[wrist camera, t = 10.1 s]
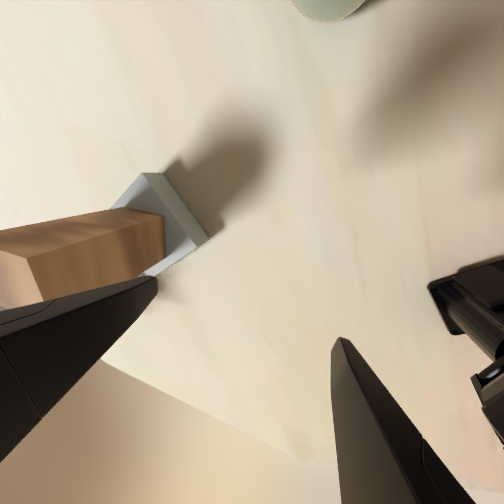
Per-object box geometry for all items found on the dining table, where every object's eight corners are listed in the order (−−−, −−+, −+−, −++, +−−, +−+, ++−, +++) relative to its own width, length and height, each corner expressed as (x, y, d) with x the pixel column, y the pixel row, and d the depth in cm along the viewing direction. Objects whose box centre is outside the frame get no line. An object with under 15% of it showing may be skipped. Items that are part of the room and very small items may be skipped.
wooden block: (164, 215, 20) (26, 258, 10) (166, 257, 22) (54, 326, 12) (124, 206, 21) (-38, 238, 11) (130, 247, 23) (-2, 304, 13)
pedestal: (209, 238, 23) (197, 247, 20) (165, 268, 27) (149, 279, 24) (162, 172, 21) (141, 172, 19) (122, 214, 25) (100, 219, 22)
